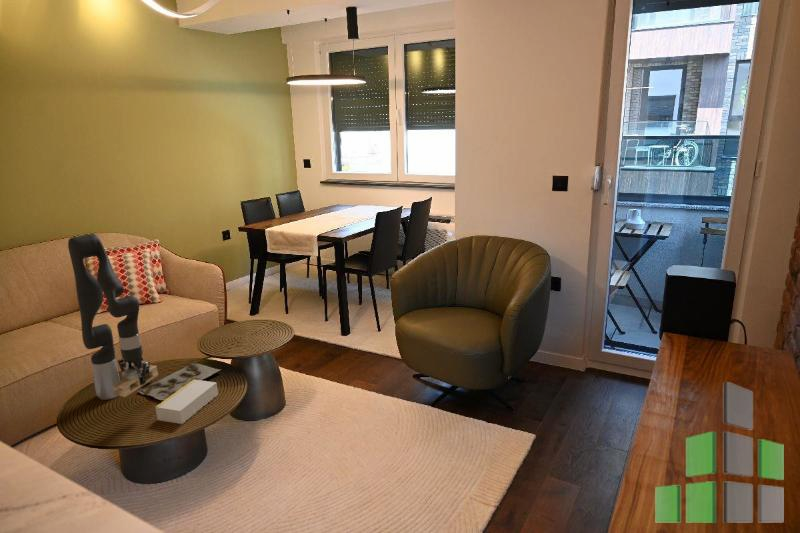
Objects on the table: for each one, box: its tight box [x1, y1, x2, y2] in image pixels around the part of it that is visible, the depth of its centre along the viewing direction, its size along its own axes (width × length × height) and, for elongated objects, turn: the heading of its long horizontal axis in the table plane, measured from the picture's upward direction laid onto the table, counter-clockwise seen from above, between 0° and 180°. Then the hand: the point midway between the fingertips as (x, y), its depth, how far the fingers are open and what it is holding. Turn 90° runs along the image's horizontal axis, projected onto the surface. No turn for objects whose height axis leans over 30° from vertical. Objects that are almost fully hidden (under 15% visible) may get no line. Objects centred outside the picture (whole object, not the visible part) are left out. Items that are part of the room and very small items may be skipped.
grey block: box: [121, 368, 139, 381], centre depth 202 cm, size 4×4×3 cm
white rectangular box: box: [155, 379, 219, 425], centre depth 215 cm, size 12×24×6 cm, turn 164°
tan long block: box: [113, 364, 159, 398], centre depth 205 cm, size 5×18×4 cm, turn 164°
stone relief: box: [136, 362, 222, 401], centre depth 236 cm, size 32×3×20 cm
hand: (137, 383), depth 205 cm, fingers closed on tan long block, 5 cm apart
